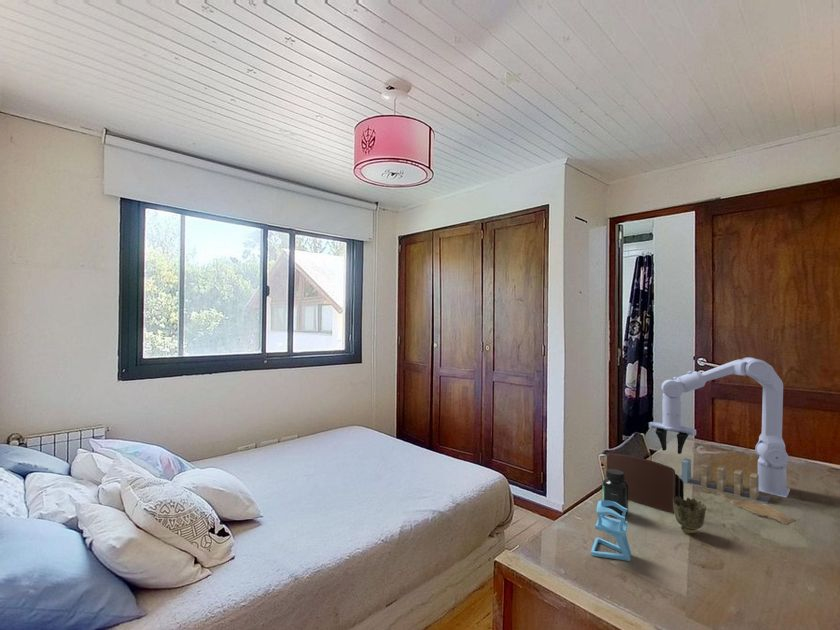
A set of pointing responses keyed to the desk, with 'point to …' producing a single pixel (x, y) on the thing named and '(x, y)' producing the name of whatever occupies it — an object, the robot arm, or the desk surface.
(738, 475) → the tile
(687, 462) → the tile
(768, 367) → the robot arm
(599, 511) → the light blue stand
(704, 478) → the tile
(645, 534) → the desk surface
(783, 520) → the pottery shard
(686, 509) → the cup
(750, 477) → the tile
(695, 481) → the felt runner
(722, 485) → the tile
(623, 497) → the supplement bottle
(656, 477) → the letter holder
